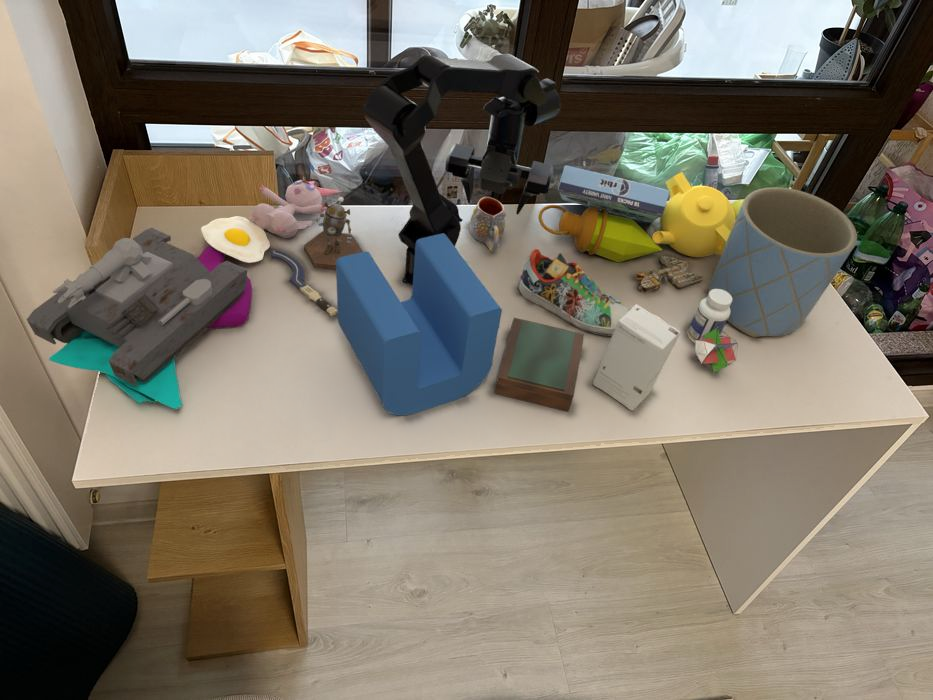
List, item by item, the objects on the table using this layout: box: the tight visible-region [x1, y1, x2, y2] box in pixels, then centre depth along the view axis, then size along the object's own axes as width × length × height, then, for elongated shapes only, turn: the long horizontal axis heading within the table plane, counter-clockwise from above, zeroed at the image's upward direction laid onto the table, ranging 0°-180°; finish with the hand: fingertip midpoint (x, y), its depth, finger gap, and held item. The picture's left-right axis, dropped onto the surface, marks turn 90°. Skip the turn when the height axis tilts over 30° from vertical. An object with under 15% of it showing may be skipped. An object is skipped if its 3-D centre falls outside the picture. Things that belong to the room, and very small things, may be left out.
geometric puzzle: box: [693, 327, 739, 374], centre depth 124 cm, size 7×7×8 cm
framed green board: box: [493, 317, 585, 413], centre depth 119 cm, size 12×14×4 cm
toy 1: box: [26, 227, 248, 386], centre depth 111 cm, size 25×20×15 cm
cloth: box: [48, 330, 183, 410], centre depth 112 cm, size 26×14×2 cm, turn 66°
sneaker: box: [517, 248, 630, 337], centre depth 128 cm, size 8×21×10 cm, turn 60°
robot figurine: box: [303, 196, 364, 270], centre depth 131 cm, size 11×9×12 cm
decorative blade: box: [270, 248, 338, 317], centre depth 130 cm, size 21×1×5 cm
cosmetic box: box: [592, 303, 682, 411], centre depth 115 cm, size 8×6×15 cm
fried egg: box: [200, 215, 271, 264], centre depth 132 cm, size 12×12×1 cm
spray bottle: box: [196, 233, 253, 330], centre depth 126 cm, size 3×11×24 cm
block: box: [335, 233, 503, 416], centre depth 112 cm, size 18×18×18 cm
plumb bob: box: [538, 204, 663, 263], centre depth 141 cm, size 9×9×25 cm
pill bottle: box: [686, 289, 732, 344], centre depth 127 cm, size 5×5×10 cm
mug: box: [468, 196, 507, 253], centre depth 141 cm, size 12×7×7 cm, turn 6°
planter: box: [707, 187, 858, 338], centre depth 130 cm, size 19×19×20 cm
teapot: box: [651, 171, 735, 258], centre depth 143 cm, size 20×18×11 cm
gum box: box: [557, 164, 670, 223], centre depth 143 cm, size 20×5×23 cm
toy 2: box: [248, 179, 343, 239], centre depth 140 cm, size 15×7×20 cm
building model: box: [634, 255, 704, 294], centre depth 140 cm, size 15×9×2 cm, turn 128°
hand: (493, 207), depth 137 cm, fingers open, 9 cm apart
